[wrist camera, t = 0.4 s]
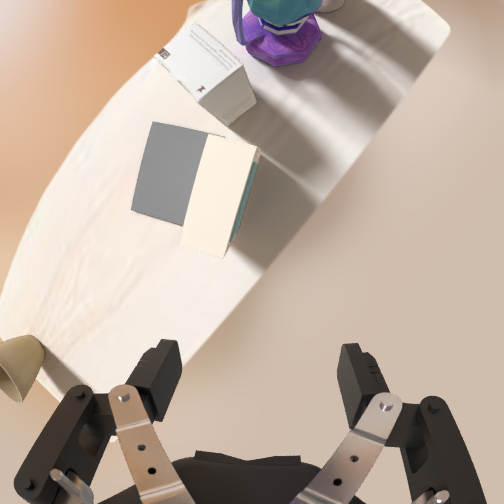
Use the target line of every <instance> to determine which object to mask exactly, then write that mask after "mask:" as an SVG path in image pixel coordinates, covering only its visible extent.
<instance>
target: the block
mask: <svg viewBox="0 0 504 504" xmlns="http://www.w3.org/2000/svg"><path fill="white" fill-rule="evenodd" d="M260 155H261V154H260V152H259V150H258V148H257V146H254V145H250V144H246V143H243V142H239V141H235V140H232V139H228V138H224V137H220V136H216V135H212V134H208V137H207V140H206V143H205V147H204V150H203V153H202V157H201V160H200V164H199V167H198V171H197V174H196V178H195V182H194V185H193V189H192V193H191V197H190V201H189V204H188V208H187V212H186V216H185V221H184V225H183V229H182V233H181V238H180V242H179V245H181V246H184V247H187V248H190V249H193V250H196V251H200V252H203V253H206V254H209V255H212V256H215V257H219V258H222V259H223V258H224V256H225V255H226V253H227V251H228V249H229V247H230V245H231V243H232V241H233V240H234V238H235V236H236V234H237V231H238V229H239V227H240V224H241V220H242V217H243V214H244V210H245V207H246V204H247V201H248V197H249V194H250V191H251V187H252V184H253V181H254V178H255V174H256V171H257V168H258V162H259V158H260Z"/></svg>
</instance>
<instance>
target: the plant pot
mask: <svg viewBox="0 0 504 504" xmlns="http://www.w3.org/2000/svg"><path fill="white" fill-rule="evenodd" d="M44 357H45V352H44V349H43V347H42V345H41V344H40V342H39V341H38V340H37V339H36V338H35V337H34V336H32V335H25V336H20V337H16V338H13V339H10V340H7V341H4V342H2V343H0V389H1V390H2V391H3V392H4V393H5V394H6V395H7V396H8V397H9V398H10V399H11V400H13V401H14V402H16V403H18V404H21V403H22V402H23V400H24V398H25V397H26V395H27V393H28V392H29V390H30V388H31V387H32V384H33V383H34V381H35V379H36V377H37V375H38V372H39V370H40V368H41V365H42V363H43V360H44Z"/></svg>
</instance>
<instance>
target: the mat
mask: <svg viewBox="0 0 504 504" xmlns="http://www.w3.org/2000/svg"><path fill="white" fill-rule="evenodd" d="M208 134H210V133H206V132H202V131H197V130H193V129H188V128H184V127H179V126H174V125H169V124H164V123H158V122H152V126H151V129H150V132H149V136H148V139H147V143H146V147H145V150H144V154H143V158H142V162H141V166H140V170H139V175H138V179H137V183H136V188H135V193H134V197H133V202H132V207H131V210H133V211H136V212H139V213H142V214H146V215H149V216H152V217H156V218H159V219H162V220H165V221H169V222H172V223H175V224H179V225H182V226H183V225H184V221H185V216H186V212H187V208H188V204H189V201H190V197H191V193H192V189H193V185H194V182H195V178H196V174H197V171H198V167H199V164H200V160H201V157H202V153H203V150H204V147H205V143H206V140H207V137H208ZM212 135H215V134H212ZM216 136H219V135H216ZM220 137H223V136H220ZM224 138H225V137H224Z"/></svg>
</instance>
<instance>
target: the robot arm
mask: <svg viewBox="0 0 504 504" xmlns="http://www.w3.org/2000/svg"><path fill="white" fill-rule="evenodd" d="M344 1H345V0H323V2H322V6H321V7H320V8H319V9H318V10H317V11H316V12H332V11H335V10H338V9H339V8H340V7H341V6H342V5H343V3H344ZM181 374H182V362H181V357H180V352H179V347H178V343H177V341H176V340H167V339H161V340H160V342H159V344H158V345H157V347H156V348H150V349H149V350H148V351H146V352H145V353H144V354H143V356H142V357H141V359H140V361H139V362H138V364H137V366H136V367H135V369H134V370H133V372H132V373H131V375H130V377H129V378H128V380H127V382H126V383H125V384H124V385H119V386H116V387H114V388H113V389H112V390H111V391H110V392H109V393H108V394H94V393H93V391H92V389H91V388H90V387H89V386H86V385H77V386H74V387H72V388H71V389H70V390H69V391H68V392H67V394H66V395H65V397H64V398H63V400H62V401H61V403H60V404H59V406H58V407H57V409H56V410H55V412H54V413H53V415H52V416H51V418H50V419H49V421H48V422H47V424H46V426H45V427H44V429H43V430H42V432H41V434H40V436H39V437H38V438H37V440H36V442H35V443H34V445H33V447H32V448H31V450H30V452H29V454H28V455H27V457H26V459H25V460H24V462H23V464H22V465H21V467H20V469H19V471H18V473H17V475H16V477H15V479H14V488H15V490H16V492H17V493H18V494H19V495H20V496H21V497H22V498H23V499H25V500H26V501H27V502H28V503H30V504H94V502H93V499H94V495H93V492H92V490H91V488H90V485H91V482H92V480H93V477H94V475H95V472H96V470H97V467H98V465H99V463H100V460H101V458H102V456H103V453H104V451H105V448H106V446H107V444H108V442H109V440H110V437H111V436H117V437H118V440H119V443H120V446H121V449H122V451H123V454H124V457H125V460H126V462H127V465H128V467H129V470H130V472H131V475H132V477H133V480H134V482H135V485H133V486H131V487H129V488H128V489H126V490H124V491H122V492H120V493H118V494H116V495H114V496H112V497H110V498H108V499H106V500H104V501H102V502H100V503H98V504H366V503H364V502H363V501H361V500H360V499H359V498H358V497H356V496H355V493H356V492H357V490H358V489H359V487H360V486H361V484H362V483H363V481H364V480H365V478H366V477H367V475H368V473H369V472H370V470H371V468H372V467H373V465H374V463H375V462H376V460H377V458H378V456H379V454H380V453H381V451H382V449H383V447H384V446H387V447H400V451H401V455H402V459H403V463H404V467H405V471H406V475H407V480H408V485H409V489H410V494H411V499H412V503H411V504H487V503H486V500H485V496H484V493H483V490H482V487H481V484H480V481H479V478H478V476H477V473H476V470H475V467H474V465H473V462H472V460H471V457H470V455H469V452H468V450H467V447H466V445H465V442H464V440H463V438H462V436H461V434H460V431H459V429H458V427H457V424H456V422H455V420H454V418H453V416H452V414H451V412H450V410H449V407H448V405H447V404H446V402H445V401H444V400H443V399H441V398H440V397H437V396H428V397H426V398H424V399H423V400H422V401H421V403H420V404H408V403H402V401H401V399H400V398H399V397H397V396H396V395H395V394H392V393H390V391H389V389H388V387H387V384H386V382H385V380H384V377H383V375H382V373H381V371H380V369H379V367H378V364H377V362H376V360H375V358H374V357H373V356H372V355H370V354H369V353H368V352H366V353H362V351H361V348H360V346H359V344H358V343H352V344H343V345H342V348H341V353H340V358H339V364H338V368H337V379H338V383H339V387H340V391H341V395H342V399H343V403H344V407H345V411H346V415H347V420H348V424H349V428H350V429H351V430H350V432H349V433H348V434H347V436H346V437H345V439H344V440H343V442H342V443H341V444H340V446H339V447H338V448H337V450H336V451H335V452H334V454H333V455H332V457H331V458H330V459H329V460H328V462H327V463H326V464H325V465H324V467H323V468H322V469H320V468H319V467H317V466H314V465H311V464H308V463H303V462H301V458H300V456H273V457H267V458H262V459H256V460H249V461H246V460H242V459H238V458H235V457H231V456H227V455H224V454H221V453H212V452H204V451H197V450H196V453H195V456H194V457H188V458H183V459H179V460H176V461H174V462H172V463H171V462H170V460H169V458H168V456H167V454H166V453H165V450H164V449H163V447H162V445H161V443H160V441H159V439H158V437H157V434H156V432H155V430H154V428H153V426H152V424H153V422H154V421H159V422H162V421H163V419H164V416H165V414H166V411H167V409H168V406H169V404H170V401H171V398H172V396H173V394H174V391H175V389H176V387H177V384H178V382H179V379H180V377H181Z"/></svg>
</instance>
